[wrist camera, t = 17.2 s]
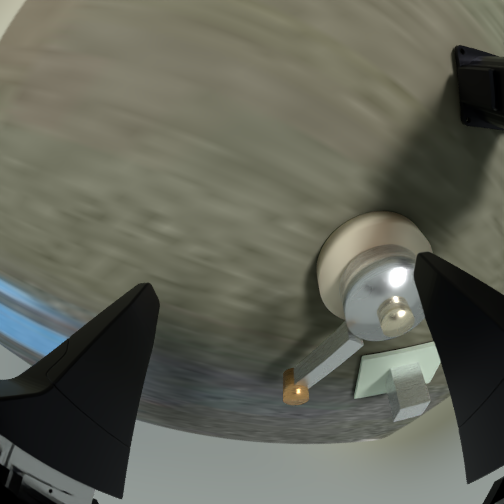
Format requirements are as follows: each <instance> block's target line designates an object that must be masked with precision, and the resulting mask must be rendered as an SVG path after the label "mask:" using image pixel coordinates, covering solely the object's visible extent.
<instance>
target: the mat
mask: <svg viewBox="0 0 504 504" xmlns="http://www.w3.org/2000/svg"><path fill="white" fill-rule="evenodd" d="M416 362H419V365H420V368H421V371H422V374H423V377H424V380H425V383H429V382H430V381H431V379H432V377H433V375H434V374H435V372H436V370H437V368H438V366H439V364H440V362H441V361H440V358H439V355H438V352H437V349H436V346H435V343H434V341H433V342H429V343H425V344H421V345H417V346H412V347H407V348H403V349H398V350H393V351H388V352H382V353H377V354H371V355H365V356H362V358H361V364H360V369H359V374H358V379H357V383H356V388H355V393H354V399H356V398H362V397H368V396H373V395H379V394H384V393H387V391H386V386H385V382H386V380H387V377H388V374H389V371H390V368H394V367H399V366H403V365H408V364H412V363H416Z"/></svg>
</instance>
